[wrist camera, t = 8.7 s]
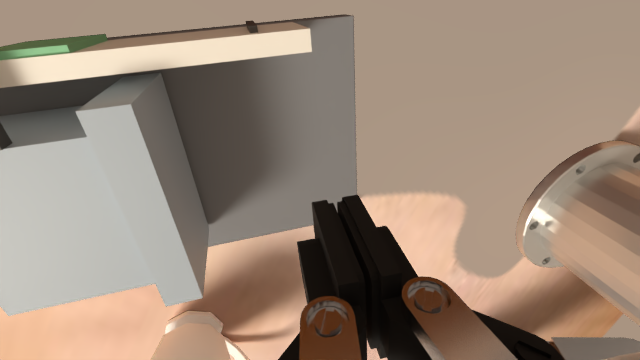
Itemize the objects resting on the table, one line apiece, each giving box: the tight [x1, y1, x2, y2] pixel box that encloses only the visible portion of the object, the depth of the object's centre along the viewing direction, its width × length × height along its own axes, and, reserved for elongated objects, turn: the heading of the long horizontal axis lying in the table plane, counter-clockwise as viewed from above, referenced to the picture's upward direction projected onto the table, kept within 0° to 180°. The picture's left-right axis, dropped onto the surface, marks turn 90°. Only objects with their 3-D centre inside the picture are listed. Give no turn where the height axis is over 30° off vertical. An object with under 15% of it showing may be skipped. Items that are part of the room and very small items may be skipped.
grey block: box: [0, 73, 209, 316], centre depth 13 cm, size 8×12×5 cm, turn 4°
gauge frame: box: [0, 15, 357, 247], centre depth 14 cm, size 25×12×10 cm, turn 94°
